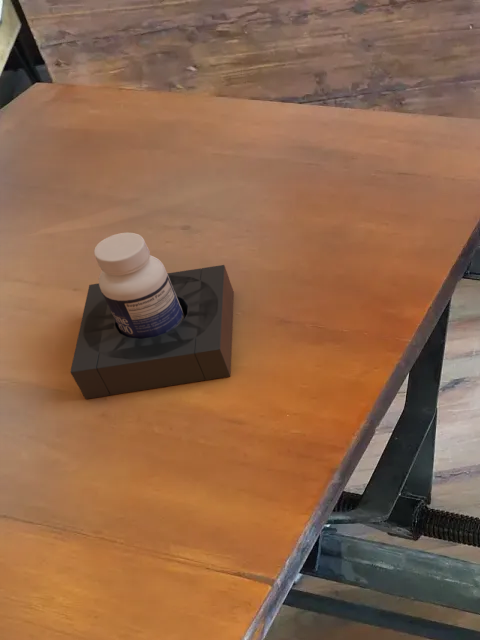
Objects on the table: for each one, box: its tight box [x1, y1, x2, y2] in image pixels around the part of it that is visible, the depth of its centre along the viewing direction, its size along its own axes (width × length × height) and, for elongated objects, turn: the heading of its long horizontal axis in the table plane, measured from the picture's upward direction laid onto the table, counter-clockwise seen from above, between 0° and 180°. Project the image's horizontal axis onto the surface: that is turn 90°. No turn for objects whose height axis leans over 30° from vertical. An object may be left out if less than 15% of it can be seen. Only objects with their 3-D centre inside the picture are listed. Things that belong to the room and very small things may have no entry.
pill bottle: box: [93, 232, 185, 339], centre depth 74 cm, size 5×5×10 cm
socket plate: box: [70, 264, 235, 400], centre depth 77 cm, size 12×12×3 cm
